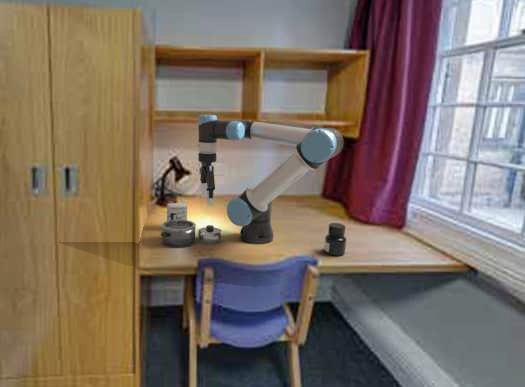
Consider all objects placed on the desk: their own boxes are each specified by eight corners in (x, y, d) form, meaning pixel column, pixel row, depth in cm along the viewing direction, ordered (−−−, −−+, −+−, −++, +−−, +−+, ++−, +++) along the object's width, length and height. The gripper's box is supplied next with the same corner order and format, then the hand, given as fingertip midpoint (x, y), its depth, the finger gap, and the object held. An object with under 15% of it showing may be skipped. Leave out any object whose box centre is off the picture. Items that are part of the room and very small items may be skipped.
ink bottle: (327, 246, 182) (329, 220, 179) (347, 250, 179) (350, 224, 176) (321, 254, 173) (323, 226, 170) (342, 258, 170) (345, 230, 167)
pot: (179, 233, 188) (180, 216, 187) (204, 239, 182) (205, 222, 180) (150, 244, 173) (150, 226, 171) (177, 252, 166) (177, 233, 164)
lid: (225, 239, 184) (226, 225, 182) (212, 246, 175) (212, 231, 174) (207, 235, 188) (207, 221, 187) (193, 241, 180) (193, 226, 178)
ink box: (168, 231, 190) (168, 206, 187) (166, 228, 194) (166, 203, 192) (187, 229, 193) (187, 205, 191) (184, 226, 198) (185, 202, 195)
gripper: (193, 148, 184) (193, 195, 189) (204, 156, 161) (203, 209, 166) (210, 148, 187) (210, 194, 192) (223, 156, 164) (222, 208, 168)
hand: (207, 201), depth 179 cm, fingers open, 13 cm apart
